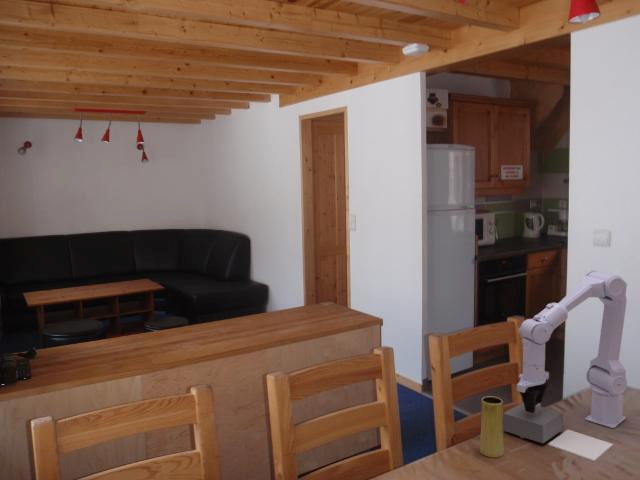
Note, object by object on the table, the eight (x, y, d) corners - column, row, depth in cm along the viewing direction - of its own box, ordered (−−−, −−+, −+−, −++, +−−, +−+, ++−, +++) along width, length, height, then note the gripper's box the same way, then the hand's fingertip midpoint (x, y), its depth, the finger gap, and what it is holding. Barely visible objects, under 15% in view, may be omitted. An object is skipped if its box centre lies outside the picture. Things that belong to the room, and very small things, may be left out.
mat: (567, 430, 154) (567, 429, 154) (613, 445, 146) (613, 444, 146) (547, 445, 147) (548, 443, 147) (594, 461, 138) (594, 460, 138)
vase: (505, 458, 140) (506, 405, 138) (480, 456, 141) (481, 404, 140) (502, 447, 146) (503, 396, 144) (478, 445, 147) (479, 394, 146)
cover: (523, 418, 162) (523, 391, 161) (562, 429, 153) (562, 402, 153) (503, 430, 154) (503, 403, 154) (543, 443, 146) (543, 414, 145)
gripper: (532, 353, 159) (531, 398, 161) (506, 365, 150) (506, 413, 151) (556, 359, 154) (555, 405, 156) (531, 372, 145) (530, 421, 146)
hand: (532, 409), depth 153 cm, fingers closed on cover, 3 cm apart
